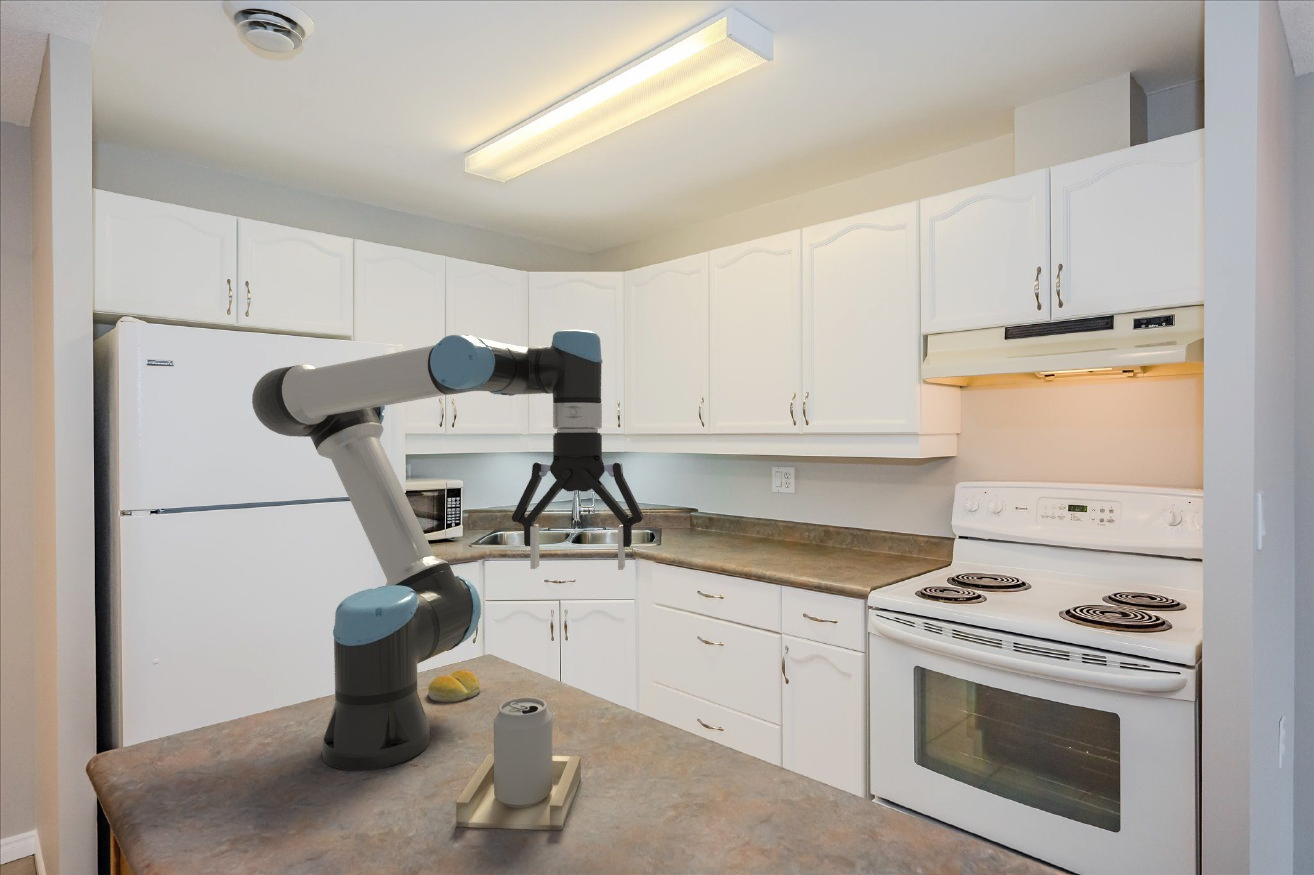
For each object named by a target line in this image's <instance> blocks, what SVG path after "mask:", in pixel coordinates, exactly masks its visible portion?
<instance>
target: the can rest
mask: <svg viewBox="0 0 1314 875" xmlns="http://www.w3.org/2000/svg"><path fill="white" fill-rule="evenodd" d="M581 765H582V757H581V756H571V755H552V772H553V788H552V791H551V793H550V794H549V795H548V796H547V797H546V798H545V799H544V800H543V801H542V802H541V803H539V804H537V805H535V806H531V807H527V808H512V807H507V806H506V805H504V804H503V803H502V802H501V801H499V800H497V798H496V797H495V796H494V753H488V754H487V755H486V757H485V759H484V760H483V762H482V763H481V765H480V766H479V767H478V769H477V771H476V772H475V773H474V775H473V776H472V777H471V779H470V781H469V782H468V784H467V785H466V787H465V788H464V790H463V791H462V793H461V794H460V796H459V797H458V799H457V800H456V801H455V808H456V809H455V815H456V817H455V820H456V821H455V824H456V826H455V827H456V828H479V829H481V828H483V829H484V828H485V829H504V830H505V829H506V830H507V829H508V830H509V829H511V830H533V831H534V830H539V831H563V828H564V826H565V825H566V824H565V823H566V820H567V818H568V815H569V812H570V809H571V806H572V804H573V801H574V798H575V796H576V792H577V790H578V787H579V784H580V782H581V778H582V777H581V776H582V766H581Z"/></svg>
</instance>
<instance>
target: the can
mask: <svg viewBox="0 0 1314 875" xmlns="http://www.w3.org/2000/svg"><path fill="white" fill-rule="evenodd" d="M493 754H494V796H495V797H496V798H497V800H499V801H501V802H502V803H503V804H504V805H506V806H507V807H512V808H527V807H531V806H535V805H537V804H539V803H541V802H542V801H543V800H544V799H545V798H546V797H547V796H548V795H549V794H550V793H551V791H552V788H553V772H552V756H553V714H552V712H551V711H550V710H549V709H548V703H547V701H545V700H544V699H542V698H539V697H538V698H537V697H534V696H525V697H524V696H523V697H516V698H511V699H508V700H506V701H504V702H502V703H501V704H500V705H499V706H498V713H496V714H495V716H494V718H493Z"/></svg>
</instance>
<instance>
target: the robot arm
mask: <svg viewBox="0 0 1314 875" xmlns="http://www.w3.org/2000/svg"><path fill="white" fill-rule="evenodd" d="M602 364H603V359H602V347H601V338H600V336H599V335H598V334H597V333H596V332H594V331H591V330H581V329H565V330H564V329H563V330H559V331H556V332H554V333H553V335H552V341H551V345H547V346H546V345H544V346H518V345H514V344H508V343H502V342H498V341H494V340H491V339H486V338H481V337H477V336H473V335H471V334H462V335H461V334H449V335H447V336H444V337H443V338H442V339H441V340H439V342H437V343H436V344H434V345H430V346H429V345H428V346H424V347H418V348H414V349H408V350H403V351H397V352H392V353H388V354H387V353H386V354H383V355H382V354H381V355H376V356H373V357H372V356H371V357H367V358H360V359H357V360H352V361H347V362H341V363H336V364H331V365H327V366H321V367H315V366H313V365H310V364H304V363H303V364H296V365H293V366H292V365H291V366H285V367H279V368H276V369H273V370H271V371H268V372H267V373H265V374H263V376H261V378H259V379H258V381H257V382H256V384H255V386H254V389H253V392H252V395H251V396H252V398H251V400H252V401H251V403H252V409H253V411H254V414H255V416H256V417H257V419H258V420H259V421H260V423H261V424H262V425H263V426H264V427H266V428H267V429H269V431H272V432H274V433H276V434H279V435H282V436H287V437H299V438H301V437H304V438H305V437H310V439H311V441H312V444H313V446H314V448H315V450H316V452H317V454H318V455H319V456H320V457H323V458H326V459H329V460H331V463H332V464H333V466H334V468H335V471H336V473H337V475H338V478H340V481H341V483H342V485H343V488H344V490H345V492H346V494H347V496H348V498H349V501H350V503H351V505H352V507H353V509H354V512H355V514H356V515H357V517H358V520H359V522H360V525H361V527H362V529H363V531H364V534H365V536H366V538H367V540H368V541H369V544H370V546H371V548H372V550H373V552H374V554H375V557H376V558H377V561H378V563H379V565H380V567H381V569H382V572H383V574H384V576H385V578H386V583H385V585H384V586H383V585H382V586H377V587H376V588H367V589H364V590H361V591H358V592H355V593H353V594H351V595H349V596H347V597H346V598H344V599H343V600H342V601H341V602H339V604H338V606H337V608H335V613H334V616H335V617H334V625H333V631H332V635H333V638H334V639H333V644H334V645H333V646H334V647H333V649H334V650H333V651H334V689H335V690H334V695H335V697H334V705H333V707H332V711H331V713H330V714H331V715H330V718H329V719H328V723H327V726H326V730H325V732H324V735H323V739H322V743H321V744H322V749H321V751H322V755H321V756H322V760H323V761H324V763H325V764H326V765H328V766H330V767H331V768H336V769H339V770H344V771H345V770H346V771H366V770H367V771H368V770H377V769H382V768H386V767H391V766H395V765H398V764H401V763H404V762H406V761H408V760H410V759H412V758H414V757H416V756H417V755H420V754H421V753H422V752H424V751H425V749H426V748H427V747H428V746H429V744H430V739H431V738H430V737H431V736H430V724H429V721H428V718H427V714H426V712H425V709H424V707H423V704H422V701H421V699H420V696H419V693H418V664H421V663H422V662H424V661H426V660H429V659H431V658H433V657H436V656H439V655H440V654H442V653H445V652H448V651H452V650H453V649H455V648H457V647H459V646H460V645H461V644H462V643H464V642H466V641H467V640H468V639H470V638H471V637H472V636H473V634H474V633H475V632H476V630H477V628H478V626H479V621H480V619H481V617H482V603H481V599H480V594H479V592H478V590H477V588H476V587H475V586H474V584H473V583H472V582H471V581H470V580H468V579H465V578H463V577H462V576H459V575H455V572H453V570H452V567H451V566H450V563H449V562H448V560H445V559H442V558H438V557H437V556H436V555H435V554H434V552H433V549H432V548H431V546H430V543H429V541H428V538H427V536H426V535H425V532H424V531H423V529H422V526H421V525H420V522H419V520H418V519H417V516H416V514H415V512H414V510H413V507H412V505H411V503H410V501H409V499H408V497H407V494H406V493H405V491H404V489H403V487H402V484H401V483H400V481H399V479H398V477H397V476H398V475H397V474H396V472H395V469H394V468H393V465H392V464H391V461H390V460H389V458H388V455H387V453H386V451H385V449H384V447H383V444H382V442H381V441H380V438H381V436H382V434H383V432H384V426H383V425H382V423H383V421H384V418H385V414H384V413H383V412H384V411H385V409H386V407H385V406H390V405H395V404H403V403H407V402H414V401H418V400H424V399H431V398H437V397H442V396H448V395H450V396H451V395H458V394H464V393H469V392H488V393H491V394H493V395H499V396H500V395H501V396H516V395H535V394H536V395H537V394H538V395H541V394H546V395H547V394H549V395H550V394H552V428H553V429H555V430H556V432H555V433H554V434H553V435H552V440H553V441H552V445H553V446H552V462H551V464H549V463H543V462H541V461H538V462H534V463H533V464H532V468H531V476H530V479H529V481H528V482H527V485H526V488H524V491H523V493H522V495H521V497H520V499H519V502H518V503H517V505H516V506H515V510H514V511H513V514H512V515H511V520H512V522H515V523H518V524H521V525H522V527H523V544H524V546H525V547H530V548H529V549H530V562H529V563H530V570H535V569H537V568H538V567H540V524H535V521H537V519H539V517H540V516H541V514H543V513H544V511H545V510H546V509H547V508H548V506H549V505H550V504H551V503H552V502H553V500H554V499H555V498H556V497H557V495H558V494H559V493H560V492H561V491H562V490H564V491H566V492H575V491H577V492H581V493H582V492H584V493H585V492H588V491H591V490H593V492H594V493H595V494H596V495H597V496H598V497H599V499H601V501H602V502H603V503H604V504H605V505H606V506H607V507H608V510H610V512H612V513H613V515H614V516H615V517H616V518H617V519H618V521H619V522H620V523H621V524H620V525H619V526H618V527H617V570H619V571H623V570H624V569H625V568H626V548H630V547H631V545H632V542H633V537H632V536H633V534H632V532H633V529H632V528H633V526H634V525H635V524H637V523H641V522H642V521H643V520H644V515H643V513H642V510H641V509H640V506H639V504H638V502H637V500H636V498H635V496H634V494H633V493H632V490H631V488H630V487H629V485H628V483H627V480H626V479H625V476H624V468H623V464H622V463H621V462H620V461H616V462H614V463H607V464H605V463H604V462H603V447H602V444H603V443H602V442H603V440H602V439H603V438H602V437H603V436H602V434H601V432H599V430H601V428H602V426H603V421H602V418H603V417H602V414H603V413H602V412H603V411H602V409H603V406H602V405H603V404H602ZM549 472H550V473H551V475H552V476H553V477H554V479H555V480H556V481H554V483H553V484H552V485H551V486H550V487H549V489H548V491H547V492H546V493H545V494H544V495H543V496H542V498H541V499H540V500H539V501H538V503H537V504H536V505H535V506H534V507H533V509H532V510H531V511H529V513H528V514H527V515H526V512H527V510H528V509H529V506H530V504H531V502H532V500H533V498H534V496H535V494H536V492H537V490H538V488H539V486H540V483H541V481H542V479H543V478H544V477H546V476H547V474H548V473H549ZM605 472H607V473H608V475H609V477H611V478H613V479H614V481H615V484H616V486H617V488H618V490H619V492H620V494H621V497H622V498H623V500H624V502H625V504H626V506H627V508H628V510H629V512H630V514H631V515H629V514H628V513H627V512H626V510H625V509H624V508H623V507H622V506H621V505H620V503H619V502H618V501H617V500H616V498H615V497H613V495H612V494H611V493H610V492H609V490H608V489H607V488H606V485H604V484H603V482H602V481H601V480H600V479H601V477H602V476H603V475H604V473H605Z"/></svg>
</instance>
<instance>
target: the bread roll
mask: <svg viewBox="0 0 1314 875" xmlns="http://www.w3.org/2000/svg"><path fill="white" fill-rule="evenodd" d="M427 691H428V692H427V693H428V696H429V698H430V699H431V700H432V701H435V702H441V703H455V702H459V701H464V700H466V699H469V698H473V697H475V696H476V695H478V694H479V693H480V692H481V685H480V682H479V679H478V678H477V676H476V675H475V674H474V673H473V672H471V671H469V670H466V669H465V670H463V669H458V670H455V671H453V672H452V673H451V674H449V675H439V676H437V677H435V678H433V680H432V681H431V682H430V684H429V685H428V690H427Z"/></svg>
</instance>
